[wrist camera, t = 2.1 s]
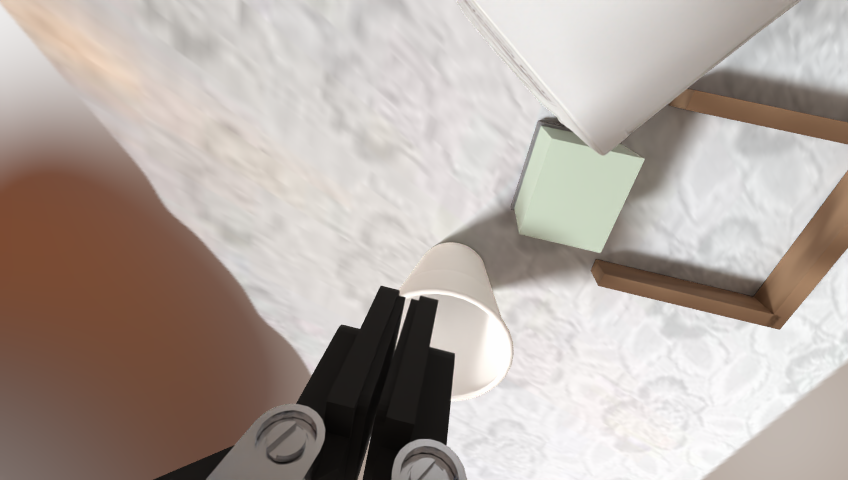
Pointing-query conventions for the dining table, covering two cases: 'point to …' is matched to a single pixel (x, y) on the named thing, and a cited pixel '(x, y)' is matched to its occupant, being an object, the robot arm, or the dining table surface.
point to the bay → (799, 268)
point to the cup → (462, 317)
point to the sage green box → (572, 188)
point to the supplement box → (615, 53)
